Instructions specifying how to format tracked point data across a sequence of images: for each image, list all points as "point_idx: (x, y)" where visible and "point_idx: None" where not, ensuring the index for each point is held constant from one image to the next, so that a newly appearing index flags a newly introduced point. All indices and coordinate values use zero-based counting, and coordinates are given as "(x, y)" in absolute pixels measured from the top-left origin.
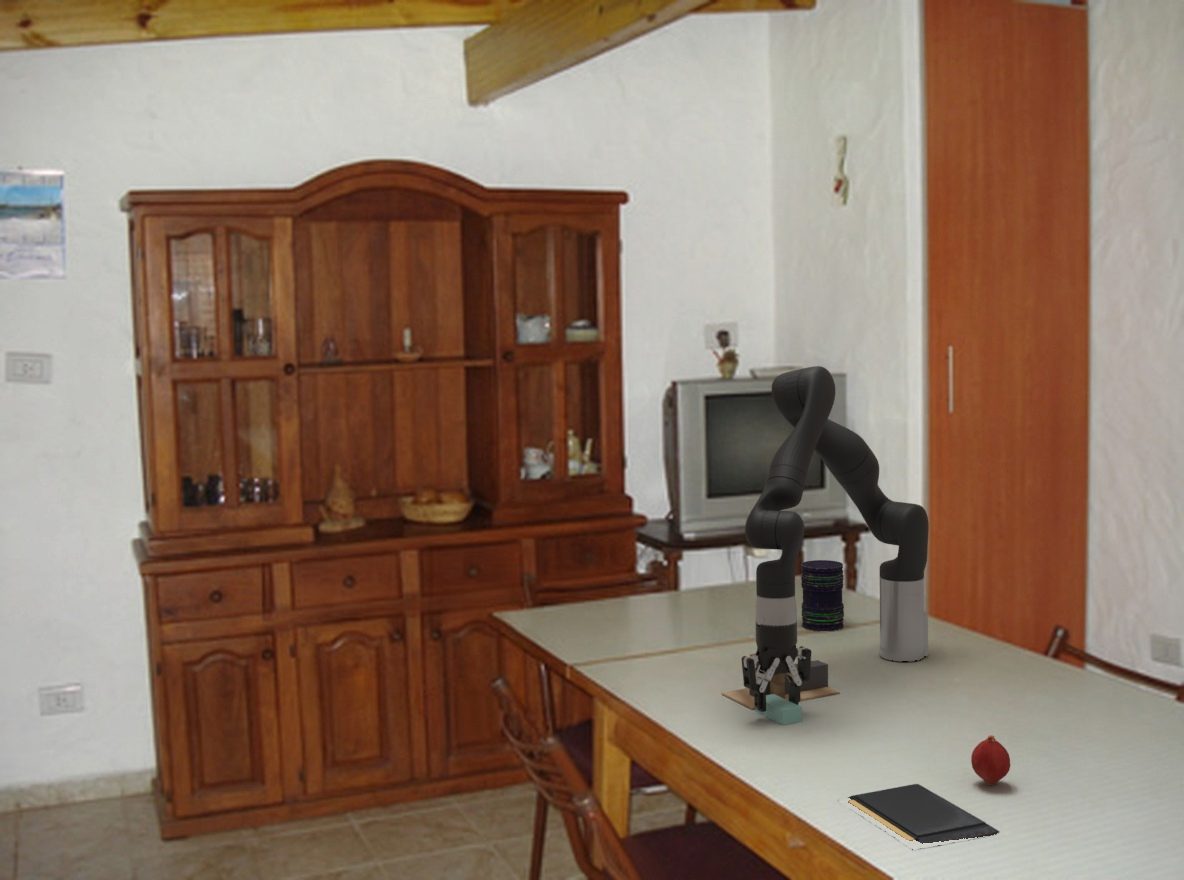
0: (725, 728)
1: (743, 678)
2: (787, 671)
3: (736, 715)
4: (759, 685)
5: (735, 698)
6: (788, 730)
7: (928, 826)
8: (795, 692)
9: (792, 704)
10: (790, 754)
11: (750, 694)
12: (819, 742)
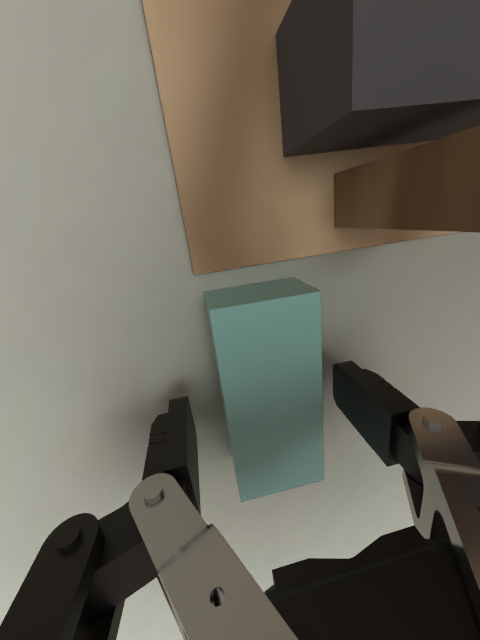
0: (5, 447)
1: (4, 622)
2: (440, 529)
3: (97, 317)
4: (156, 574)
5: (166, 72)
6: (224, 495)
7: None
8: (368, 443)
9: (311, 447)
10: (152, 627)
11: (277, 47)
12: (257, 571)
